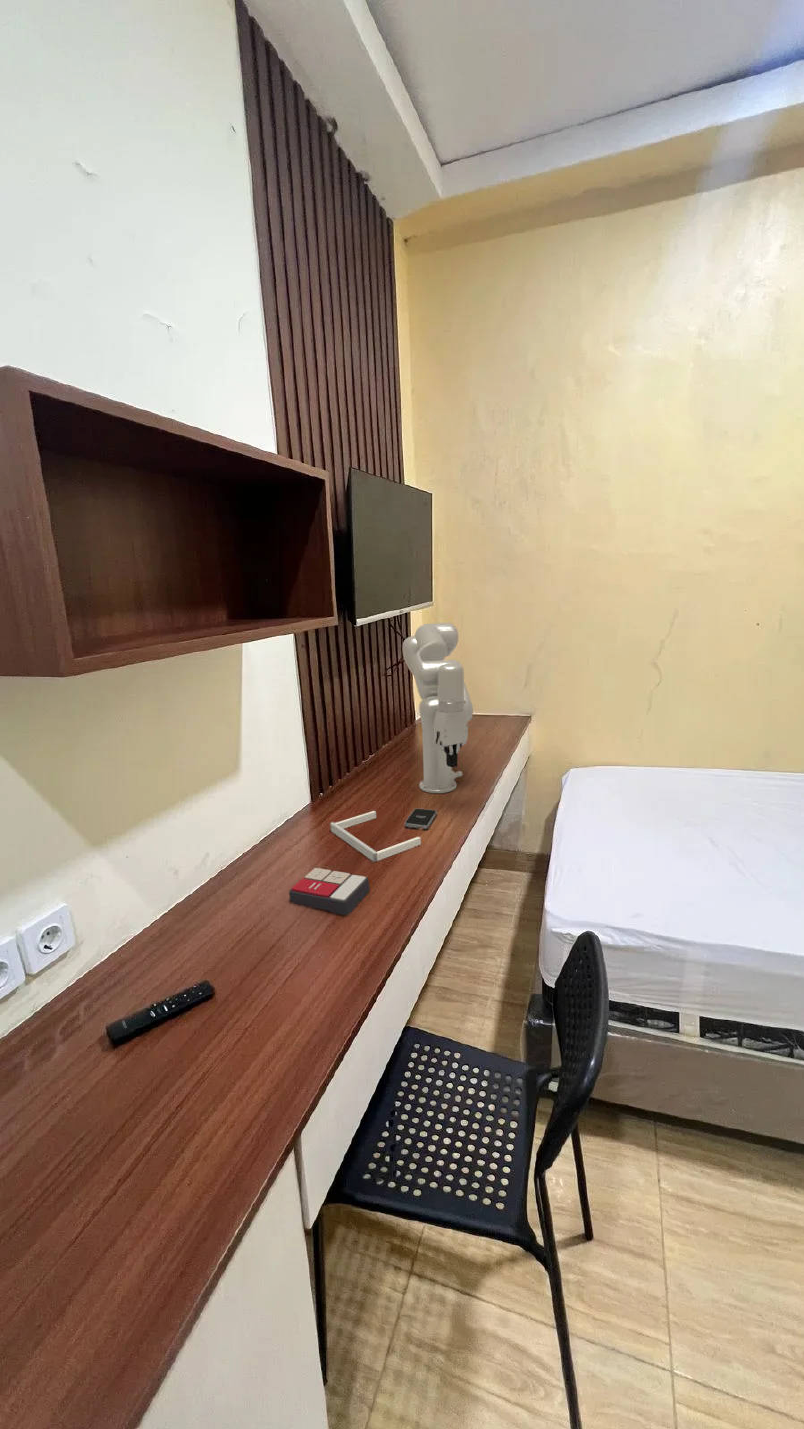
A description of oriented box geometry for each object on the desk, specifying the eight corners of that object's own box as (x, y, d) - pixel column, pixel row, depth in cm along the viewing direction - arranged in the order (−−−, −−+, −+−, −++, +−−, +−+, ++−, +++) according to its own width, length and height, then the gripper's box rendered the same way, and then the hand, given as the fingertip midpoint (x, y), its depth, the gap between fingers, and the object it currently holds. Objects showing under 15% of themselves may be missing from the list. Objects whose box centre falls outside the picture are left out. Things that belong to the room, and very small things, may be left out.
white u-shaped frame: (374, 816, 171) (374, 809, 170) (420, 844, 152) (420, 836, 152) (330, 830, 162) (330, 822, 162) (374, 862, 144) (373, 853, 143)
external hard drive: (404, 829, 163) (404, 823, 162) (415, 814, 173) (415, 807, 172) (427, 832, 160) (427, 825, 160) (437, 816, 171) (437, 810, 170)
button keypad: (314, 865, 137) (368, 874, 131) (316, 881, 138) (370, 891, 132) (287, 888, 127) (344, 899, 121) (289, 905, 128) (346, 917, 122)
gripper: (461, 700, 172) (462, 758, 176) (423, 708, 164) (424, 768, 168) (478, 704, 166) (478, 763, 170) (439, 712, 158) (440, 774, 162)
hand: (452, 765), depth 169 cm, fingers closed
